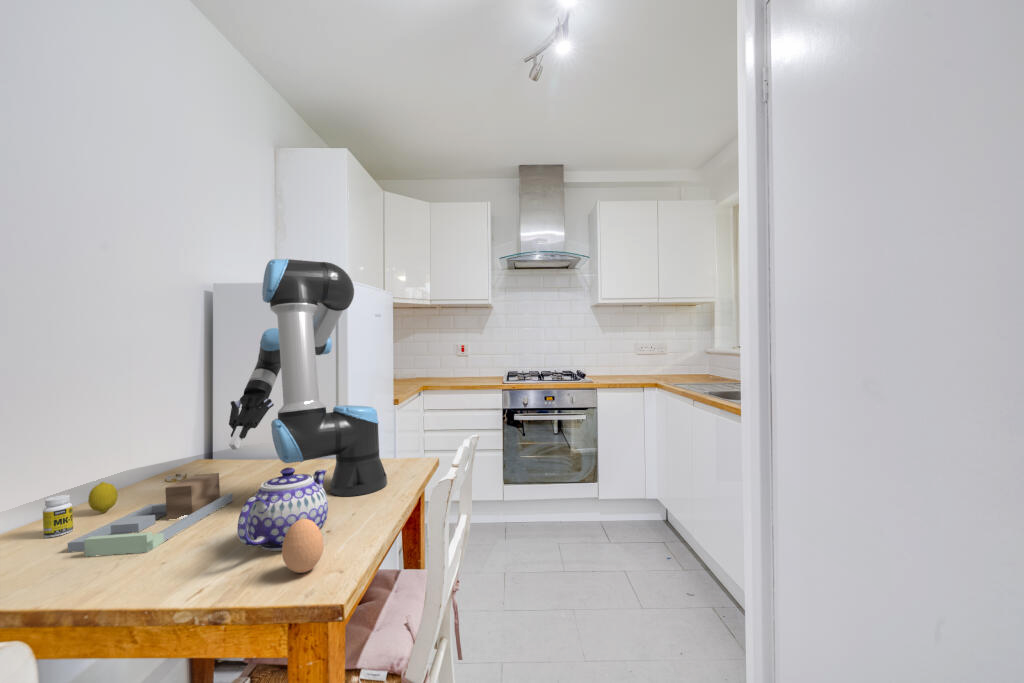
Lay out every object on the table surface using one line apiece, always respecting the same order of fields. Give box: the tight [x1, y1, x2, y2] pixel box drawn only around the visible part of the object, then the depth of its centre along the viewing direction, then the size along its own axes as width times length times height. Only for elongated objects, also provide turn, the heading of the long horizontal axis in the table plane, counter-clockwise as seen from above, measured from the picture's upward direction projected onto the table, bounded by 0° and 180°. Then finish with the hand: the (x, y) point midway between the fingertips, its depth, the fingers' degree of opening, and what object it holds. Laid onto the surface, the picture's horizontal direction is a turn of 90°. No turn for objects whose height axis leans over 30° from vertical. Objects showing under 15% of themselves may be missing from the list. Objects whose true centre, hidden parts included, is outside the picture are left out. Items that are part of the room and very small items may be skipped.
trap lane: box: [67, 493, 234, 557], centre depth 103 cm, size 30×18×4 cm, turn 3°
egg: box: [281, 519, 325, 574], centre depth 77 cm, size 7×7×9 cm
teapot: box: [237, 467, 329, 552], centre depth 91 cm, size 25×15×15 cm, turn 166°
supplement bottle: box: [42, 494, 74, 539], centre depth 101 cm, size 5×5×8 cm
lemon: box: [88, 481, 118, 514], centre depth 113 cm, size 6×6×8 cm
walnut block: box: [165, 472, 221, 521], centre depth 112 cm, size 11×6×8 cm, turn 3°
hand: (233, 447), depth 130 cm, fingers closed
